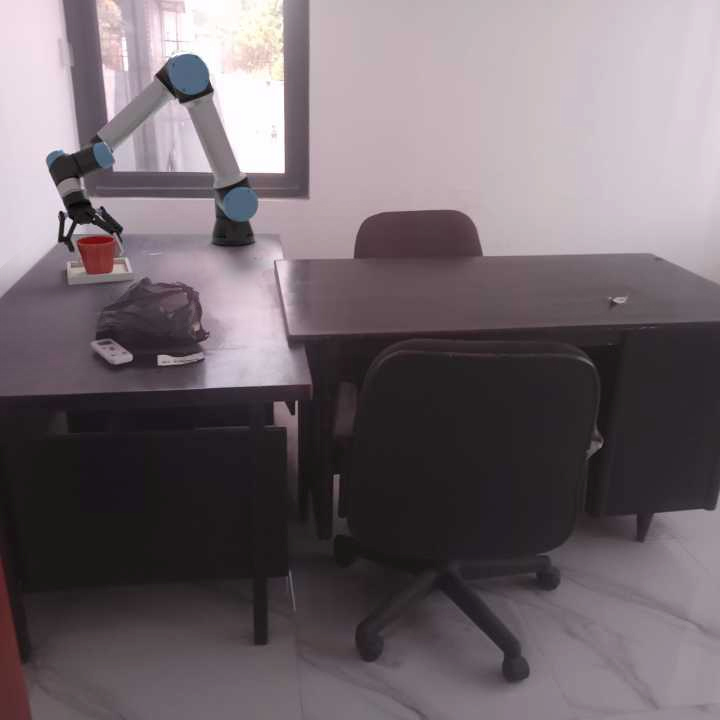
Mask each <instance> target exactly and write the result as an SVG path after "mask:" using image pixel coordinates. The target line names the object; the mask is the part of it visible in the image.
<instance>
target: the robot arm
mask: <svg viewBox="0 0 720 720" xmlns="http://www.w3.org/2000/svg"><path fill="white" fill-rule="evenodd" d="M214 94H215V89H214V86H213V83H212V80H211V78H210V69H209V66H208V64H207V63H206V61H205V60H204V59H203V57H201V56H200V55H198V54H196V53H195V52H191V51H180V52H176V53H174V54H171V56H170V57H169V58H168V59H167V61H166V62H165V63H164V64H163V66H162V67H161V68H160V69H159V70H158V71H157V72H156V73H155V74H154V75H153V81H151V82H150V83H149V84H148V85H147V86H146V87H145V88H144V89H142V91H141V92H139V94H138V95H136V96H135V97H134V98H133V99H132V100H131V101H130V102H129V103H128V104H127V105H125V106H124V107H123V108H122V109H121V110H120V111H119V112H118V113H117V114H116V115H115V116H113V118H112V119H111V120H109V121H108V122H107V123H106V124H105V125H104V126H103V127H102V128H101V129H100V130H98V131H97V132H96V134H95V135H93V136H92V137H90V139H89V140H87V141H85V142H84V143H83V144H82V146H81V148H80V150H79V151H76V152H73V153H69V152H68V151H66V150H64V149H60V150H53V151H52V152H50V153H49V154H48V155H47V156H46V158H45V163H46V166H47V169H48V172H49V175H50V176H51V179H52V181H53V183H54V185H55V187H56V191H57V192H58V194H59V197H60V199H61V201H62V203H63V206H64V208H65V210H66V211H65V212H64V211H63V210H59V212H58V215H57V219H58V221H59V226H58V233H57V234H58V235H57V242H58V243H60V244H62V243H63V244H64V246H66V247H67V250H68V251H69V252H70V253H73V255H74V258H75V261H77V263H78V262H80V261H82V259H81V258H82V257H81V254H80V252H79V250H78V247H77V243H76V241H75V239H74V238H72V237H73V235H74V232H75V230H76V228H77V225H80V226H83V225H91V224H92V225H93V226H97V227H98V228H100V229H102V231H105V232H106V233H107V234H109V235H111V237H112V238H114V239H115V249H116V251H117V254H118V256H119V257H122V256H123V254H124V251H125V250H124V248H123V247H124V246H122V244H123V239H122V237H121V235H122V233H123V231H124V227H123V226H122V225H121V224H120V223H119V222H118V221H117V220H116V219H115V218H114V217H113V216H112V215H110V214H109V212H107V210H106V208H105V206H103V205H101V206H99V207H98V208H95V207H94V206H93V204H92V202H91V200H90V197H89V196H88V193H87V191H86V188H85V187H84V184H83V182H82V180H81V179H82V178H85V177H86V176H89V175H91V174H94V173H96V172H99V171H102V170H105V169H108V168H109V167H111V166H113V165H115V164H116V159H115V156H114V155H113V153H115V151H117V150H118V149H119V148H120V147H121V146H122V145H123V144H124V143H125V142H126V141H128V140H129V139H130V138H131V137H133V135H134V134H135V133H137V131H138V130H139V129H141V127H143V126H144V125H145V124H146V123H147V122H148V121H150V120H151V119H152V118H153V117H154V116H155V115H156V114H157V113H158V112H159V111H160V110H161V109H162V108H163V107H165V106H166V105H167V104H168V103H169V102H170V101H176V100H177V101H178V103H179V105H181V106H183V107H185V108H186V110H187V113H188V114H189V117H190V119H191V122H192V125H193V126H194V127H193V128H194V130H195V132H196V135H197V137H198V140H199V142H200V145H201V147H202V150H203V152H204V155H205V157H206V160H207V162H208V164H209V167H210V170H211V171H212V175H213V177H214V178H213V184H212V186H213V192H214V197H213V198H214V215H215V221H214V225H213V229H212V231H211V232H212V233H211V242H212V243H213V244H215V245H220V246H228V247H229V246H231V247H233V246H244V245H245V246H246V245H249V244H252V243H254V242H255V240H256V239H255V232H254V229H253V226H252V223H251V222H250V220H251V219H253V217H254V216H255V215H256V213H257V211H258V209H259V200H258V196H257V194H256V193H255V191H253V188H252V185H251V183H250V181H249V178H248V177H249V176H247V174H246V173H244V172H242V171H241V170H240V167H239V165H238V161H237V159H236V156H235V154H234V151H233V148H232V147H231V144H230V141H229V138H228V136H227V133H226V131H225V128H224V125H223V123H222V120H221V118H220V115H219V112H218V109H217V107H216V105H215V101H214V99H213V97H214ZM100 217H101V218H100ZM67 218H69V219H70V220H72V223H71V224H70V227H69V230H68V232H67V234H66V236H65V225H66V221H67Z"/></svg>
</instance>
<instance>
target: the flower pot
mask: <svg viewBox="0 0 720 720" xmlns="http://www.w3.org/2000/svg"><path fill="white" fill-rule="evenodd" d="M75 243H76V245H77V248H78V250H79V252H80V254H81V257H82V258H81V261H82V262H83V265H84V267H85V270H86V272H87V273H88V274H92V275H96V274H107V273H110V272H112V271H113V264H114V258H115V251H116V250H115V249H116V247H115V239H114V238H112V236H108V235H107V236H106V235H92V236H91V235H90V236H85V237H81V238H79V239H77V240H76V241H75Z"/></svg>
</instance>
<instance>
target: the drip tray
mask: <svg viewBox="0 0 720 720" xmlns="http://www.w3.org/2000/svg"><path fill="white" fill-rule="evenodd" d="M129 260H130V259H129V258H128V257H117V258H116V257H114V264H113V271H112V272H110V273H107V274H96V275H92V274H88V273H87V272H86V270H85V267H84V265H83V262H82V260H81V261H80V262H78V263H77V260H75V261H74V260H72V261H66V270H67V271H66V272H67V274H66V275H67V283H68V286H73V285H83V284H97V283H98V284H99V283H109V282H123V281H133V280H134V273H133V270H132V266H131V263H130V261H129ZM132 279H133V280H132Z"/></svg>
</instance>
